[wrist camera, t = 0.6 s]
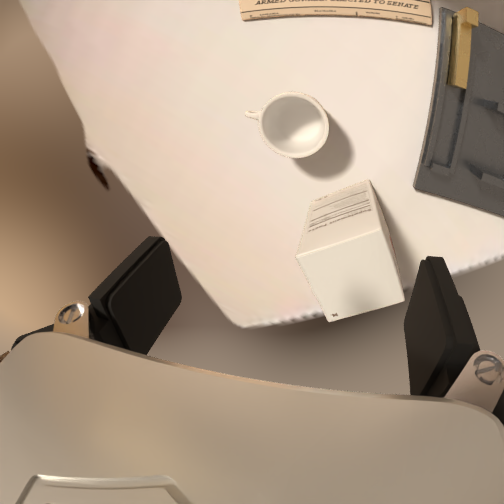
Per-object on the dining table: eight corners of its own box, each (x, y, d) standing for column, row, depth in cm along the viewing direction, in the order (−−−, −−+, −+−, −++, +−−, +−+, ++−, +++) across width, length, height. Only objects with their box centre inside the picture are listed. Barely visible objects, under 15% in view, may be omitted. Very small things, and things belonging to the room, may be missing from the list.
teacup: (336, 99, 33) (335, 101, 29) (322, 155, 37) (320, 166, 33) (257, 82, 34) (245, 82, 30) (248, 138, 39) (235, 146, 34)
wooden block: (453, 14, 21) (466, 6, 17) (463, 18, 21) (478, 11, 17) (447, 84, 27) (461, 85, 23) (457, 88, 26) (472, 89, 22)
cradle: (439, 8, 22) (452, 0, 18) (551, 66, 18) (570, 68, 14) (412, 185, 36) (421, 199, 32) (518, 219, 32) (533, 235, 28)
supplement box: (391, 234, 40) (407, 304, 28) (334, 253, 44) (327, 325, 32) (369, 176, 37) (383, 227, 25) (308, 199, 41) (292, 258, 29)
